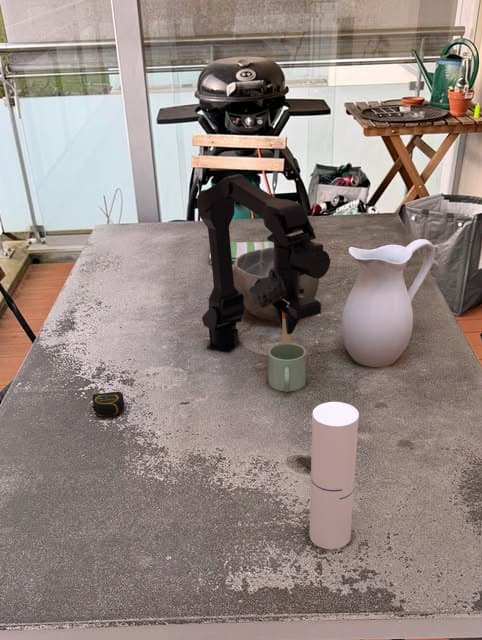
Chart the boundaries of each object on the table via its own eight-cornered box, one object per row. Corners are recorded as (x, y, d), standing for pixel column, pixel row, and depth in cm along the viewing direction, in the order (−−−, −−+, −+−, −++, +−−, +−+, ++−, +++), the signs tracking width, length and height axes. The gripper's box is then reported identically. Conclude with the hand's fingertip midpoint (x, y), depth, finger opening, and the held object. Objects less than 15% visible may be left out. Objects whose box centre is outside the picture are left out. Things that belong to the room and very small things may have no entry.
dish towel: (281, 263, 236) (281, 255, 234) (209, 265, 236) (208, 257, 235) (279, 244, 251) (279, 236, 249) (210, 246, 251) (210, 239, 249)
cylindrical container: (306, 523, 131) (309, 403, 116) (346, 520, 131) (353, 400, 117) (312, 550, 125) (316, 427, 110) (354, 547, 125) (363, 424, 111)
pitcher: (365, 379, 172) (374, 265, 157) (326, 351, 185) (331, 242, 169) (445, 355, 181) (461, 245, 165) (403, 330, 194) (414, 225, 178)
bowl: (218, 323, 200) (215, 270, 192) (251, 290, 218) (250, 241, 210) (302, 336, 192) (303, 281, 184) (329, 300, 211) (331, 249, 202)
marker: (280, 343, 166) (280, 310, 162) (284, 339, 168) (284, 306, 163) (289, 344, 165) (289, 311, 161) (292, 340, 167) (293, 308, 162)
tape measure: (124, 402, 167) (122, 388, 165) (125, 418, 161) (123, 403, 159) (93, 406, 166) (91, 391, 164) (94, 421, 160) (91, 407, 158)
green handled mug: (268, 372, 176) (268, 342, 172) (305, 373, 176) (306, 342, 171) (267, 398, 167) (266, 367, 162) (306, 398, 166) (306, 367, 162)
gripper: (233, 259, 160) (235, 325, 169) (278, 287, 146) (278, 357, 155) (276, 249, 164) (276, 314, 173) (324, 275, 151) (321, 344, 160)
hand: (286, 331), depth 165 cm, fingers closed on marker, 2 cm apart
